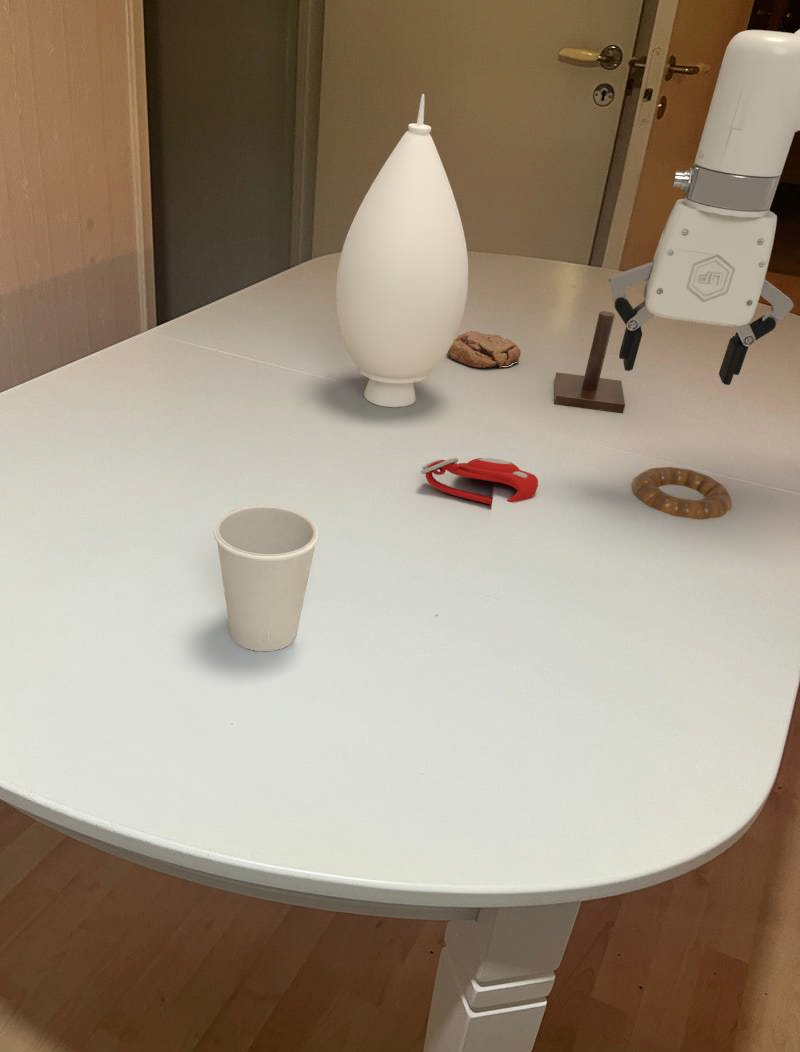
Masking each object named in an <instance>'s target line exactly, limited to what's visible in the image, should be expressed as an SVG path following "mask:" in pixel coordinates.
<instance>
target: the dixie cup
mask: <svg viewBox="0 0 800 1052" xmlns="http://www.w3.org/2000/svg"><path fill="white" fill-rule="evenodd" d="M212 531H213V537H214V540H215V542H216V544H217V551H218V557H219V564H220V570H221V577H222V586H223V591H224V601H225V606H226V613H227V619H228V627H229V635H230V637H231V639H232V641H233V642H235V644H237V645H238V646H240V647H241V648H244V649H246V648H247V649H246V650H249V649H250V651H253V650H255V651H254V652H260V651H269V652H275V650H276V651H279V650H278V649H280V650H282V649H285V648H287V647H288V646H290V645H291V644H292V643H294V642H295V640H296V637H297V634H298V629H299V625H300V624H299V623H300V620H301V614H302V610H303V606H304V600H305V596H306V591H307V585H308V582H309V576H310V571H311V567H312V563H313V562H312V561H313V556H314V552H315V546H316V545H317V544H318V542H319V538H320V530H319V527H318V526H317V525H316V523H315V522H314V521H313V520H312V519H311V518H310V517H308V516H307V515H306V514H304V513H301V511H297V510H296V509H295V510H294V509H292V508H289V507H284V506H279V505H270V504H268V505H267V504H262V505H261V504H260V505H259V504H258V505H247V506H242V507H239V508H236V509H233V510H231V511H229V512H227V513H225V514H224V515H222V516H221V517H219V519H218V520H217V521H216V523H215V524H214V526H213V530H212ZM286 646H287V647H286Z"/></svg>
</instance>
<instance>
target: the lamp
mask: <svg viewBox="0 0 800 1052" xmlns="http://www.w3.org/2000/svg"><path fill="white" fill-rule="evenodd" d="M425 98H426V97H425V93H422V94H421V96H420V101H419V107H418V113H417V119H416V123H409V124H408V125H407V129H408V130H407V131H406V132H405V133H404V134H403V135H402V136H401V138H400V139H399V141H398V143H397V144H396V146H395V147H394V149H393V150H392V152H391V153H390V155H389V156H388V158H387V159H386V160H385V162H384V164H383V166H382V167H381V168H380V170H379V172H378V174H377V175H376V178H375V179H374V180H373V182H372V183H371V185H370V187H369V189H368V190H367V192H366V194H365V195H364V198H363V199H362V202H361V203H360V205H359V207H358V210H357V212H356V214H355V216H354V217H353V221H352V222H351V224H350V227H349V229H348V232H347V234H346V237H345V240H344V242H343V246H342V249H341V253H340V257H339V263H338V266H337V267H338V268H337V271H336V272H337V274H336V283H335V309H336V315H337V316H336V317H337V322H338V326H339V331H340V335H341V338H342V341H343V344H344V346H345V348H346V352H347V353H348V355H349V357H350V360H352V362H353V363H354V365H356V367H357V368H356V369H357V370H358V372H359V373H360V374H361V375H362V376H364V377H366V378H368V381H367V384H366V387H365V389H364V391H363V396H364V399H365V400H366V401H368V402H369V403H370V404H373V405H376V406H380V407H383V408H384V407H385V408H403V407H408V406H411V405H413V404H415V402H416V401H417V400H416V399H417V398H416V391H415V384H414V383H418V382H421V381H424V380H425V379H427V377H428V375H429V373H432V372H433V371H434V370H435V369H436V368H437V367H438V366H439V365H440V363H441V362H442V361H443V360H444V358H445V357H446V355H447V354H448V350H449V349H450V347H451V345H452V343H453V341H454V339H456V338H457V336H458V333H459V330H460V327H461V324H462V321H463V318H464V314H465V309H466V305H467V297H468V288H469V287H468V286H469V258H468V257H469V256H468V249H467V241H466V236H465V231H464V226H463V223H462V219H461V218H462V217H461V215H460V212H459V211H460V210H459V208H458V205H457V201H456V199H455V195H454V191H453V189H452V186H451V183H450V180H449V178H448V175H447V173H446V170H445V167H444V165H443V161H442V159H441V157H440V154H439V152H438V149H437V146H436V143H435V141H434V139H433V137H432V135H431V132H432V127H431V126H430V125H428V124H424V123H425V122H424V120H425Z"/></svg>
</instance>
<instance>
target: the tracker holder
mask: <svg viewBox="0 0 800 1052" xmlns="http://www.w3.org/2000/svg"><path fill="white" fill-rule="evenodd" d="M458 462H459V458H458V457H454V458H449V459H447V460H446V459H437V460H434V461H431V462H429V463H426V464H424V465H423V466H422V467H421V470H420V474H421V475H425V479H426V481H427V483H428V484H429V485H431V486H432V487H433V488H435V489H437V490H439V491H441V492H444V493H446V494H449V495H452V496H454V497H459V498H463V499H467V500H471V501H475V502H479V503H484V504H488V505H493V500H494V498H493V496H489V495H485V494H482V493H477V492H473V491H470V490H469V491H468V490H464V489H460V488H457V487H456V488H455V487H453V486H449V485H447V484H445V483H442V482H440V481H438V480H437V479H436V478H435V477H434V475H437V476H443V475H444V474H446V472H448V473H450V474H453V475H455V476H460V477H464V478H469V479H474V480H475V479H476V480H481V481H488V482H494V483H501V484H504V485H508V486H509V487H512V488H513V489H515V490H516V493H515V494H514V495H513V496H511V497H510V498H508V499H507V500H506V502H508V503H517V502H521V501H526V500H530V499H533V497H534V496H535V494H536V492H537V490H538V487H539V479H538V477H537V476H536V475H535V474H533V473H531V472H528V471H525V470H522V469H520V468H519V466H517V465H516V464H515V463H512V462H509V461H507V460H503V459H499V458H492V457H490V458H489V457H487V458H482V457H479V458H474V459H471V460H469V461H468V462H460V463H458ZM433 474H434V475H433Z"/></svg>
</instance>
